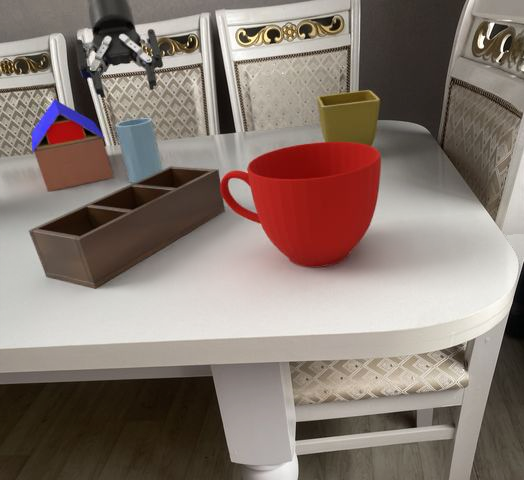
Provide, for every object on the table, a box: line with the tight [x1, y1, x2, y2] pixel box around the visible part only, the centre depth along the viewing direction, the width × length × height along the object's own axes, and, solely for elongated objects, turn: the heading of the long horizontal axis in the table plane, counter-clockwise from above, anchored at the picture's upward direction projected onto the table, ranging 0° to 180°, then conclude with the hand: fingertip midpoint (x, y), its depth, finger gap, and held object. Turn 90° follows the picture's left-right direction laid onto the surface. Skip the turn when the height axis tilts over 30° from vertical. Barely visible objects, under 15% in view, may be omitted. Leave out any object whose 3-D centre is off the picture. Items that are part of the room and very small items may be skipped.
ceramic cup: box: [220, 141, 382, 268], centre depth 55 cm, size 13×17×10 cm
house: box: [31, 98, 114, 192], centre depth 96 cm, size 12×20×12 cm, turn 21°
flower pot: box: [316, 89, 381, 147], centre depth 84 cm, size 9×9×9 cm
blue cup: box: [114, 117, 164, 184], centre depth 88 cm, size 6×6×9 cm
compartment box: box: [28, 165, 226, 289], centre depth 64 cm, size 8×24×6 cm, turn 147°
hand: (127, 90), depth 90 cm, fingers open, 8 cm apart
